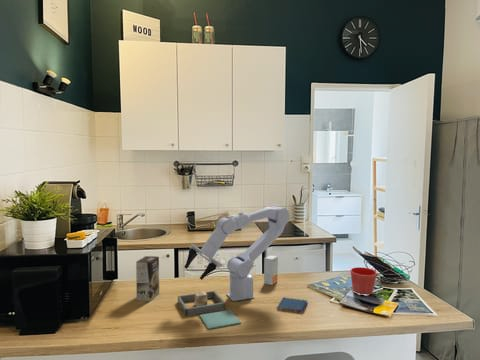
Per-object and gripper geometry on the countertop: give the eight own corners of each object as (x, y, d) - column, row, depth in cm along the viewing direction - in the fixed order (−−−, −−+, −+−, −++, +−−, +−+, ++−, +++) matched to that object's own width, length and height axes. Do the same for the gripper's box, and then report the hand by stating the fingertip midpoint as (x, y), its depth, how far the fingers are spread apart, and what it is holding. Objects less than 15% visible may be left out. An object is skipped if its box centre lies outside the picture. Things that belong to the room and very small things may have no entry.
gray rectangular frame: (214, 296, 155) (214, 290, 154) (225, 309, 142) (225, 303, 142) (177, 302, 149) (177, 296, 149) (185, 316, 136) (185, 309, 136)
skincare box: (272, 285, 167) (272, 259, 166) (263, 283, 170) (263, 258, 169) (277, 281, 172) (278, 256, 172) (269, 279, 175) (269, 255, 174)
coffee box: (150, 301, 150) (150, 262, 148) (136, 300, 151) (135, 261, 150) (160, 293, 158) (159, 256, 157) (146, 292, 160) (145, 255, 158)
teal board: (230, 311, 140) (230, 309, 140) (240, 323, 130) (240, 322, 130) (199, 316, 136) (199, 315, 136) (208, 329, 126) (208, 328, 126)
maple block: (204, 303, 148) (204, 291, 148) (207, 307, 144) (207, 294, 144) (194, 304, 147) (194, 292, 146) (197, 308, 143) (197, 296, 142)
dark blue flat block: (282, 301, 151) (282, 296, 151) (308, 304, 148) (308, 299, 148) (275, 311, 141) (275, 306, 141) (303, 315, 138) (303, 310, 138)
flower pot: (378, 291, 160) (379, 269, 159) (372, 300, 151) (373, 276, 150) (354, 286, 166) (354, 265, 165) (346, 294, 156) (347, 272, 156)
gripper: (196, 232, 146) (175, 261, 143) (226, 252, 142) (205, 283, 138) (200, 236, 152) (180, 264, 149) (228, 255, 148) (209, 284, 145)
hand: (193, 273), depth 144 cm, fingers open, 7 cm apart
